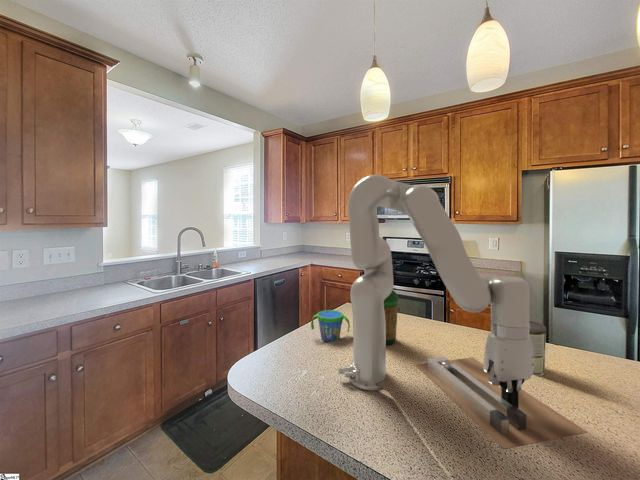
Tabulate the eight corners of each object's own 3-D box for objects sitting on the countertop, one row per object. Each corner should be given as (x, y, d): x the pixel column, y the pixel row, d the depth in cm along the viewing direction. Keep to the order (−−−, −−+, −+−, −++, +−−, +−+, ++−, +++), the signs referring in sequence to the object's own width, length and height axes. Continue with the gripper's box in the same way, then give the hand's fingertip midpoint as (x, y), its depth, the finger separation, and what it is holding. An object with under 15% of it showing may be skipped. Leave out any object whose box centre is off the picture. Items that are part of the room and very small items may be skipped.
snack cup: (352, 335, 117) (351, 311, 116) (346, 346, 107) (346, 320, 106) (316, 331, 122) (316, 308, 121) (307, 341, 112) (307, 316, 111)
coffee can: (497, 360, 94) (498, 319, 93) (527, 359, 95) (529, 318, 94) (520, 377, 84) (522, 331, 83) (554, 376, 84) (555, 330, 83)
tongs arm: (439, 371, 85) (439, 361, 84) (450, 370, 85) (450, 359, 85) (511, 431, 60) (511, 417, 60) (525, 428, 61) (526, 414, 61)
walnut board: (503, 456, 56) (504, 448, 56) (414, 369, 90) (414, 364, 89) (587, 438, 60) (587, 432, 60) (472, 361, 94) (472, 357, 94)
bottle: (400, 351, 102) (400, 274, 100) (370, 349, 103) (369, 274, 102) (396, 339, 112) (396, 269, 110) (369, 338, 114) (369, 269, 112)
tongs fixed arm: (427, 368, 87) (427, 358, 87) (444, 366, 88) (444, 356, 88) (500, 434, 60) (501, 420, 60) (524, 429, 61) (524, 415, 61)
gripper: (521, 321, 71) (522, 391, 72) (470, 327, 69) (471, 400, 70) (551, 332, 64) (551, 410, 65) (495, 340, 61) (495, 421, 62)
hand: (509, 405), depth 67 cm, fingers closed
